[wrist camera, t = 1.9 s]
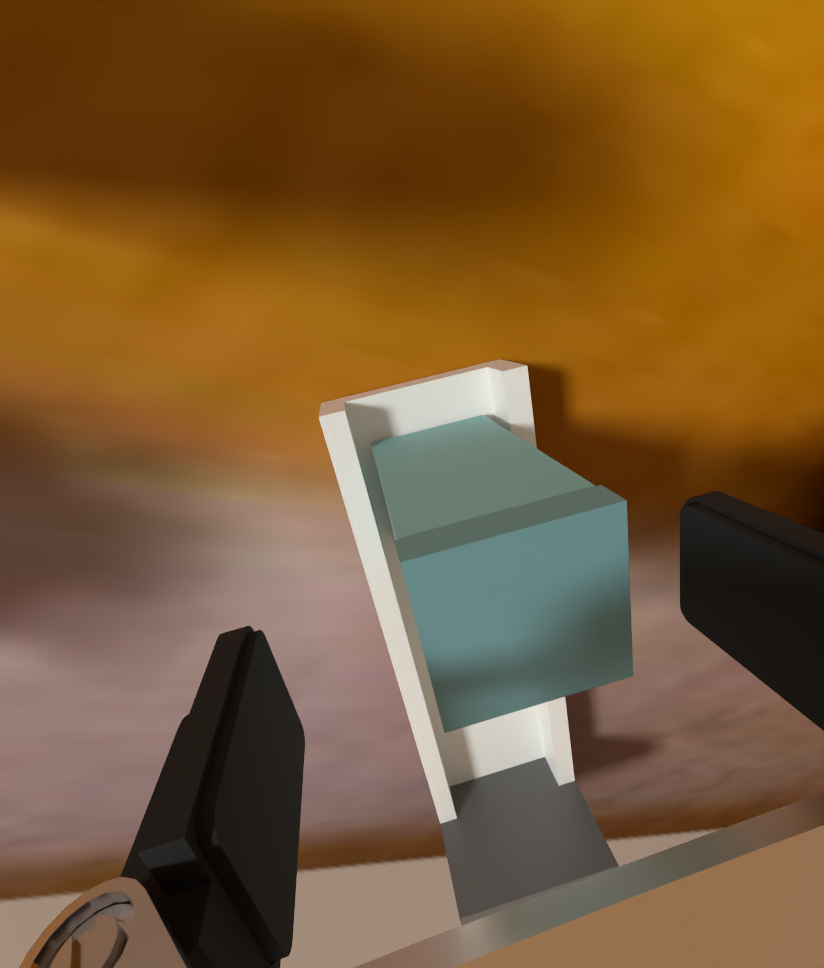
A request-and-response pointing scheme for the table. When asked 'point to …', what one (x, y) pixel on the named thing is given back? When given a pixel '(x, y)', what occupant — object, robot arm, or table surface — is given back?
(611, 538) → the block
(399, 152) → the table surface
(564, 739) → the channel
